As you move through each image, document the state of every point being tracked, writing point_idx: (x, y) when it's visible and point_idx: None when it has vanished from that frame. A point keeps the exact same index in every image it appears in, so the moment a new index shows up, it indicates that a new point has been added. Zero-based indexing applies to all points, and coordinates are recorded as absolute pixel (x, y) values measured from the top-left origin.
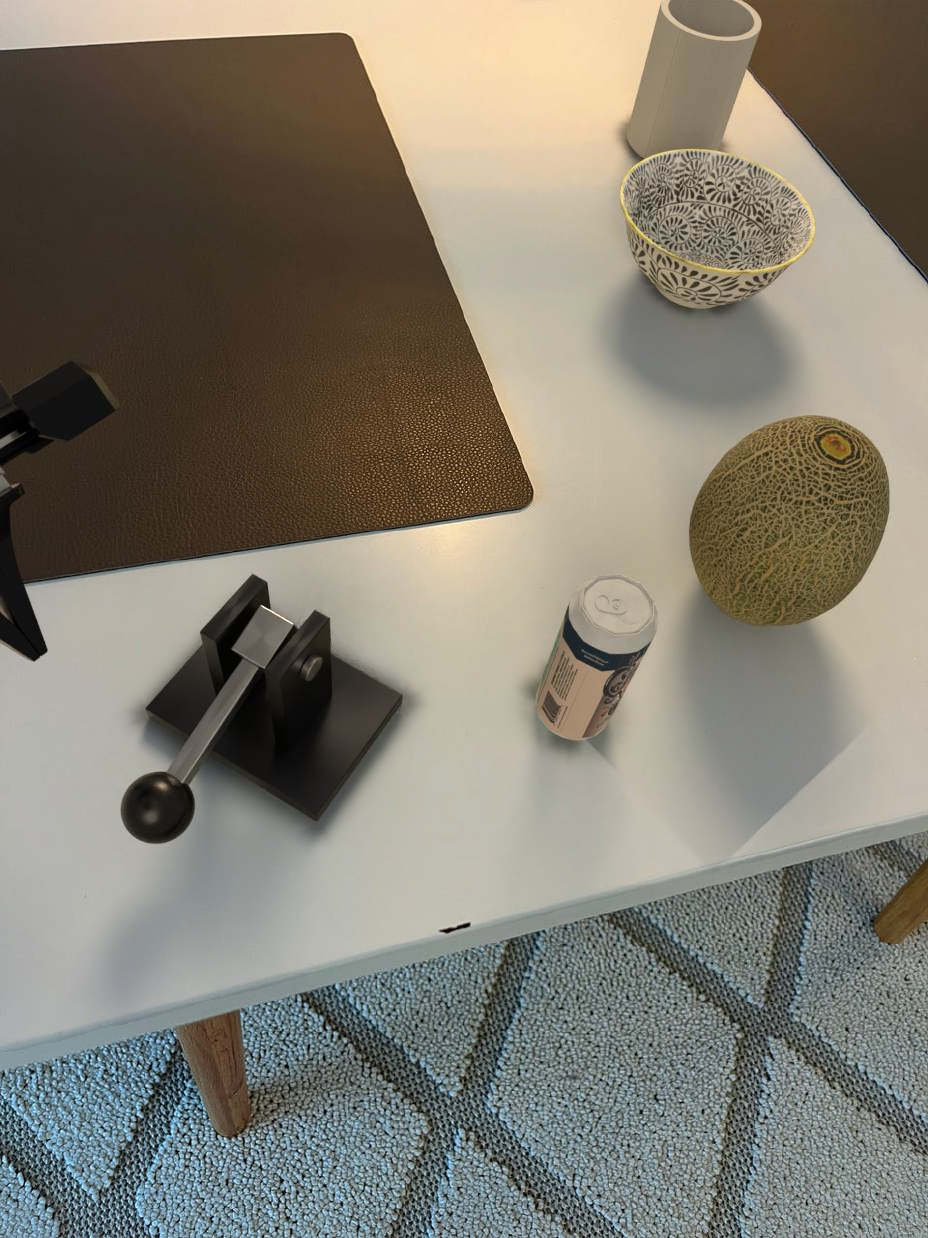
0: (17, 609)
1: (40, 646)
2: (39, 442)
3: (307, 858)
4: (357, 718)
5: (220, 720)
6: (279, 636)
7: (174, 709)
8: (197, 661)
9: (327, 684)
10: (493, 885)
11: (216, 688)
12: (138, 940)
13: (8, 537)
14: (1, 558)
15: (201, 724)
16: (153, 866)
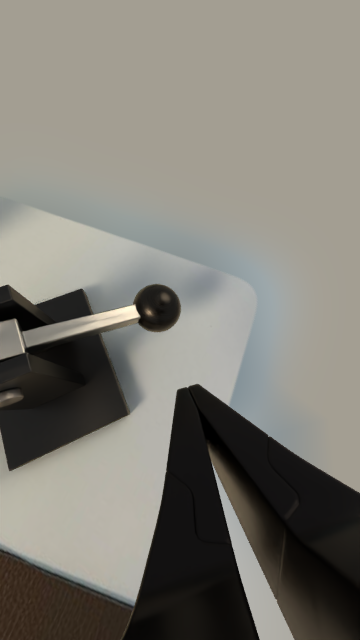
0: (193, 433)
1: (183, 393)
2: None
3: (102, 280)
4: None
5: (82, 318)
6: None
7: (111, 401)
8: (75, 431)
9: None
10: (35, 221)
11: (73, 378)
12: (196, 292)
13: (144, 599)
14: (185, 537)
15: (97, 325)
16: None
